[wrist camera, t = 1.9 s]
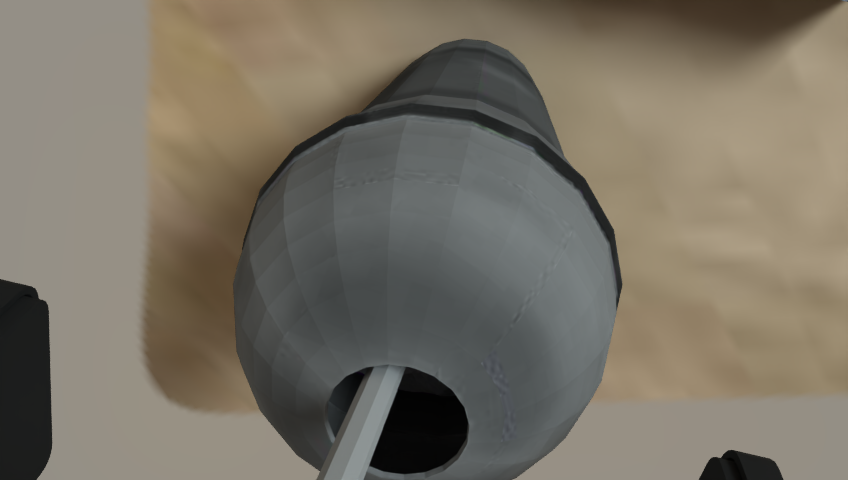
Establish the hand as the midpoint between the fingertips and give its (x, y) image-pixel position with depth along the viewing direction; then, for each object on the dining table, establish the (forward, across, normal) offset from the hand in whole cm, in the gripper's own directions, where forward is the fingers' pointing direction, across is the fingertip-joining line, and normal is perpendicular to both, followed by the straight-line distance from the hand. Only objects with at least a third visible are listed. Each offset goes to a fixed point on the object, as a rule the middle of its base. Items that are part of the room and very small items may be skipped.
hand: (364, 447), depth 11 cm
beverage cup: (+16, -1, 0) cm, 16 cm away
